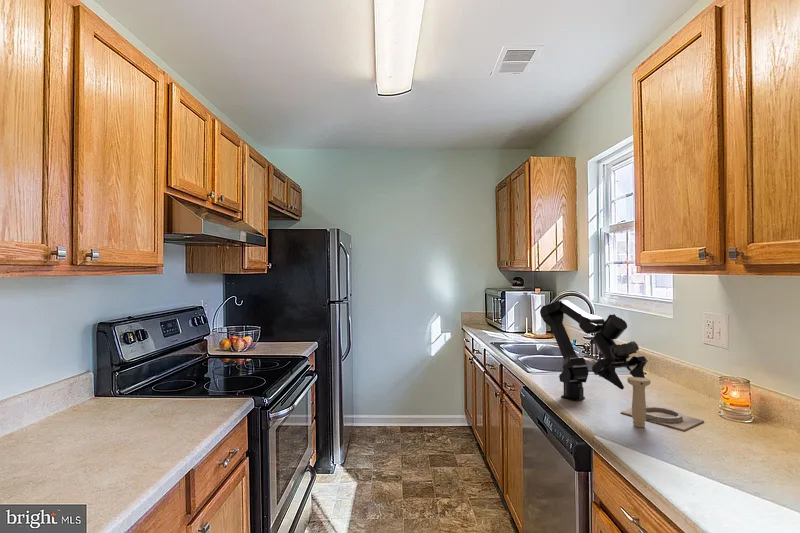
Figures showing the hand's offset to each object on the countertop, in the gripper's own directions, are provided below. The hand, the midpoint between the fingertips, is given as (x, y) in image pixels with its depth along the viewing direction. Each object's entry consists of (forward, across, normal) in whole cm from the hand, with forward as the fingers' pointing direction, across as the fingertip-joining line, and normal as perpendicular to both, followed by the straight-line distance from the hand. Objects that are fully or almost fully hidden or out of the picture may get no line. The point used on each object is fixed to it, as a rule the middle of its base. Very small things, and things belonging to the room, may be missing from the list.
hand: (634, 387), depth 141 cm
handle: (+10, 0, +7) cm, 12 cm away
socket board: (+7, +14, +10) cm, 18 cm away
